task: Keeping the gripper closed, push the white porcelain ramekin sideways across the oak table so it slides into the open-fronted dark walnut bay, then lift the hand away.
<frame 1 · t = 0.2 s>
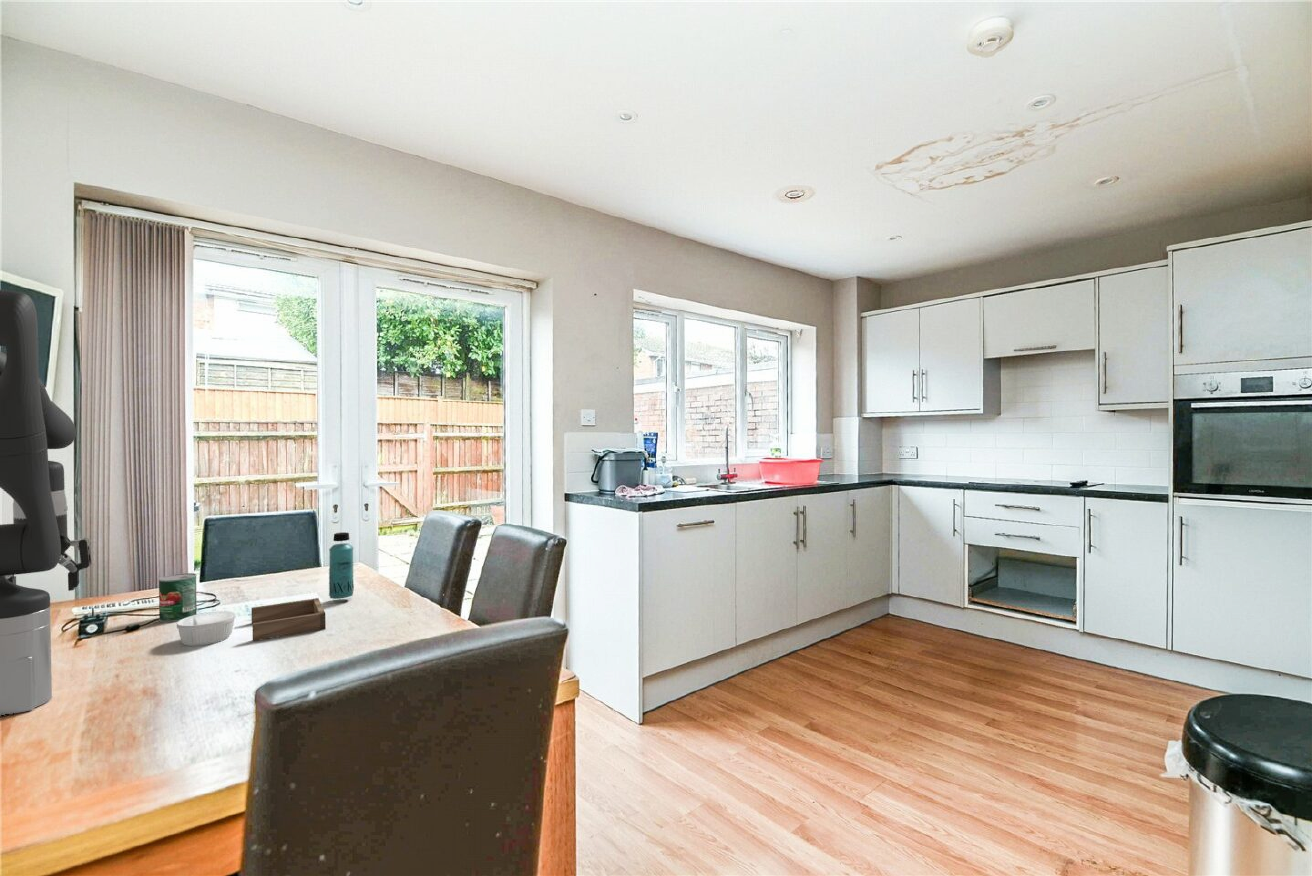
hand: (42, 592, 121), 17 cm above the table, tool pointing down, fingers open, 8 cm apart
ramekin: (206, 640, 143), on the table
walnut bay: (285, 626, 152), on the table
canned tomato: (178, 618, 160), on the table
beverage bottle: (341, 601, 175), on the table
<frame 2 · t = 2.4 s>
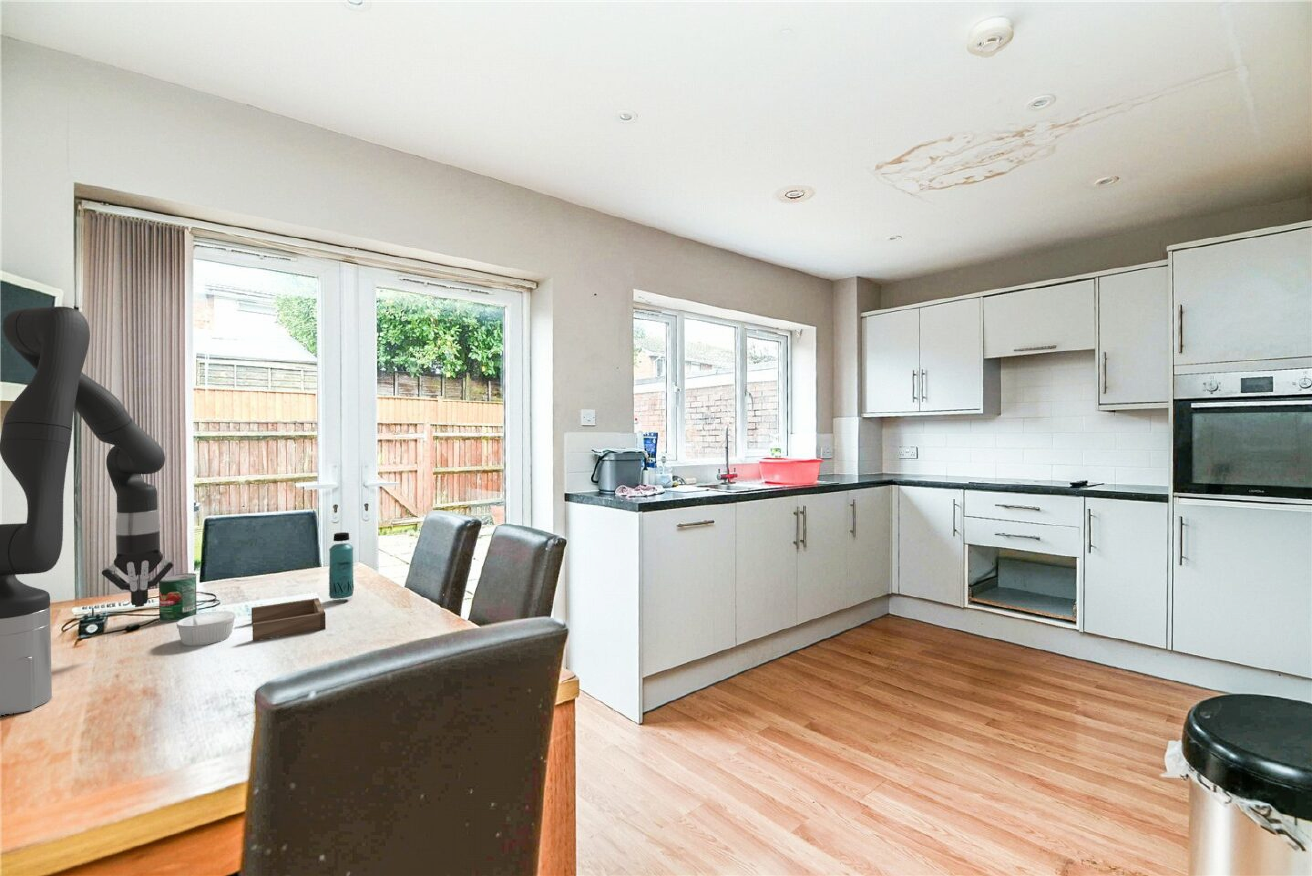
hand: (140, 605, 136), 10 cm above the table, tool pointing down, fingers closed
nothing on the table moved.
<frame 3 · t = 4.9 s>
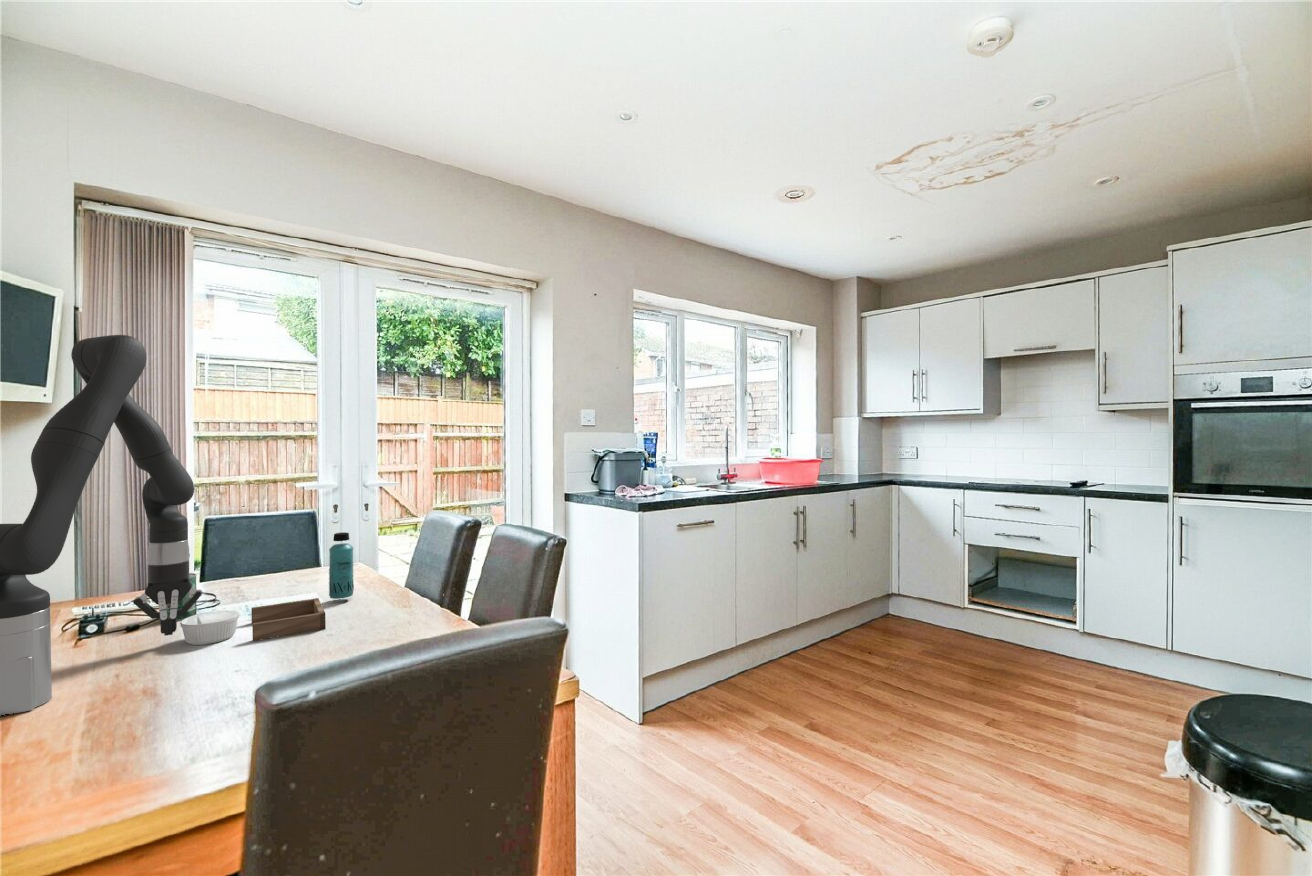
hand: (168, 634, 139), 3 cm above the table, tool pointing down, fingers closed
ramekin: (210, 639, 144), on the table, touching gripper
everything else where it was.
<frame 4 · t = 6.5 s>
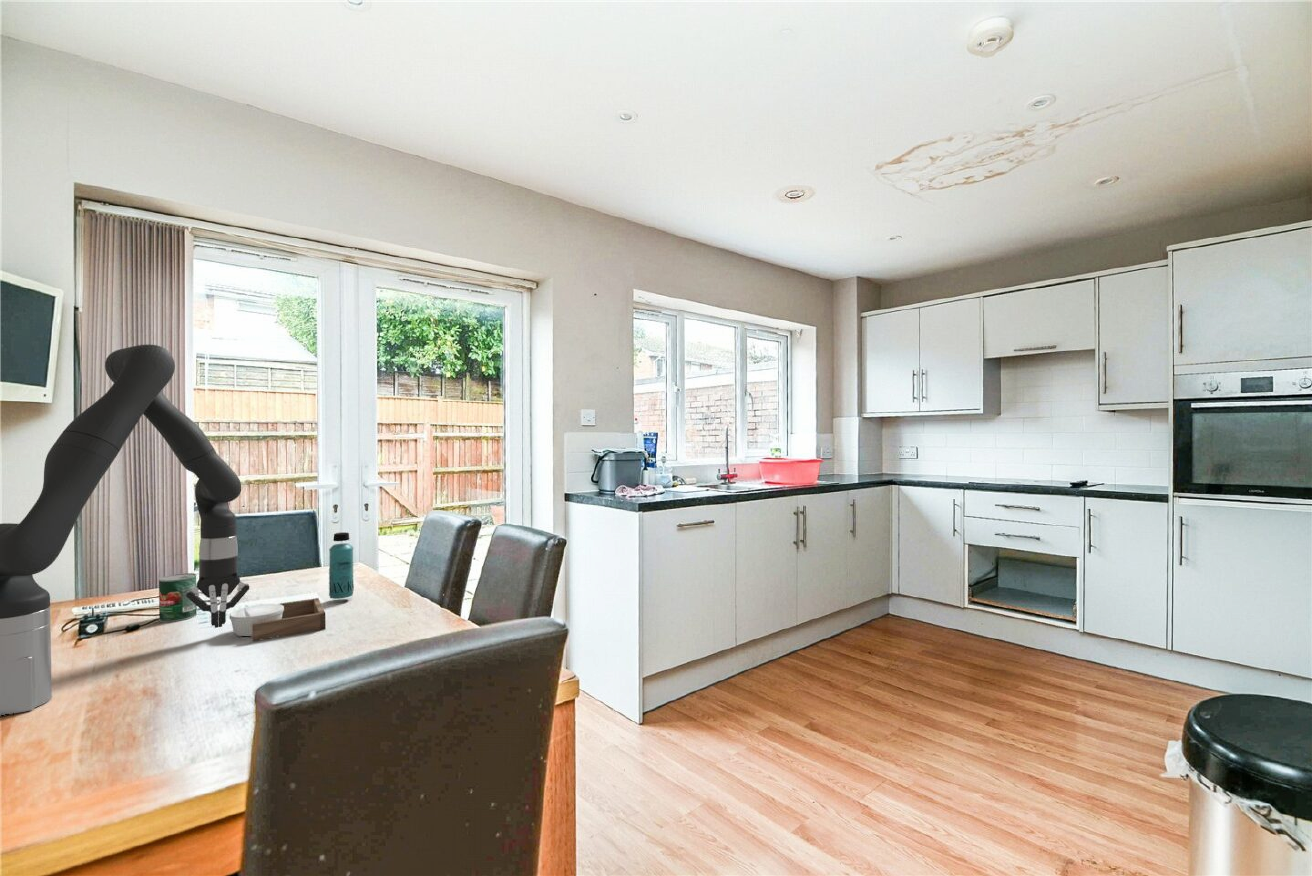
hand: (218, 626, 145), 3 cm above the table, tool pointing down, fingers closed
ramekin: (257, 631, 149), on the table, touching gripper
everything else where it was.
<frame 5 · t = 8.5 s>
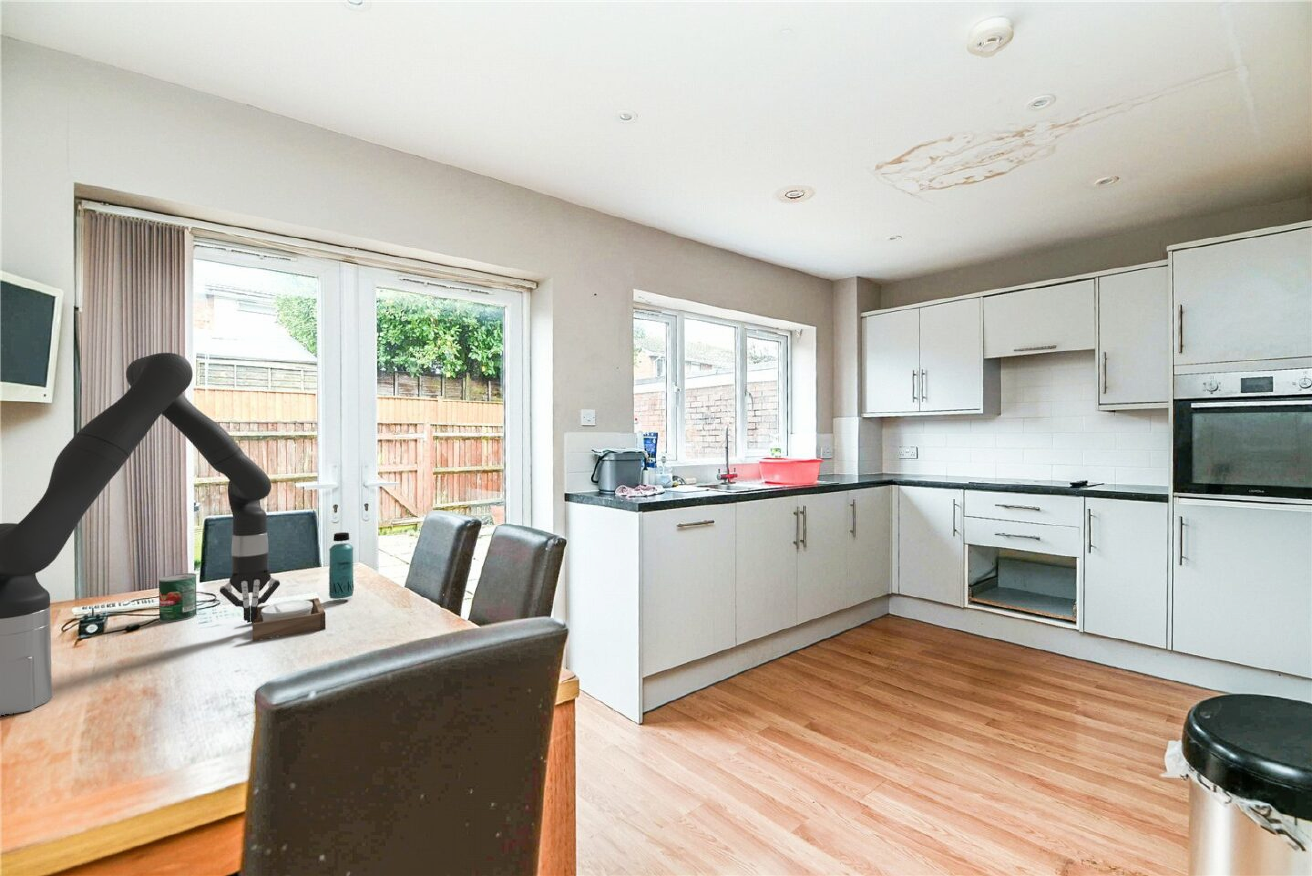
hand: (250, 621, 148), 3 cm above the table, tool pointing down, fingers closed
ramekin: (287, 627, 152), on the table
everything else where it was.
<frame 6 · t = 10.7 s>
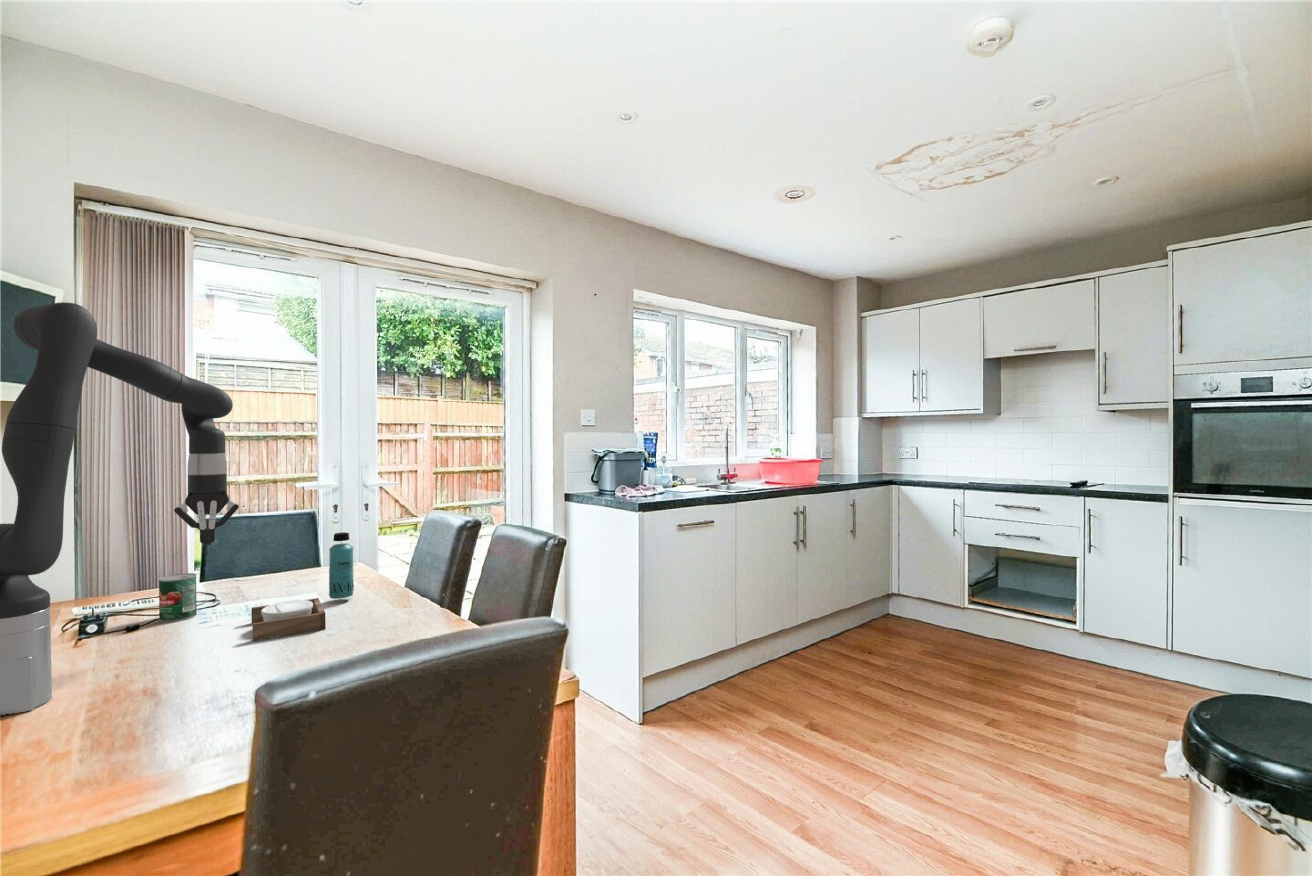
hand: (207, 544, 143), 23 cm above the table, tool pointing down, fingers closed
nothing on the table moved.
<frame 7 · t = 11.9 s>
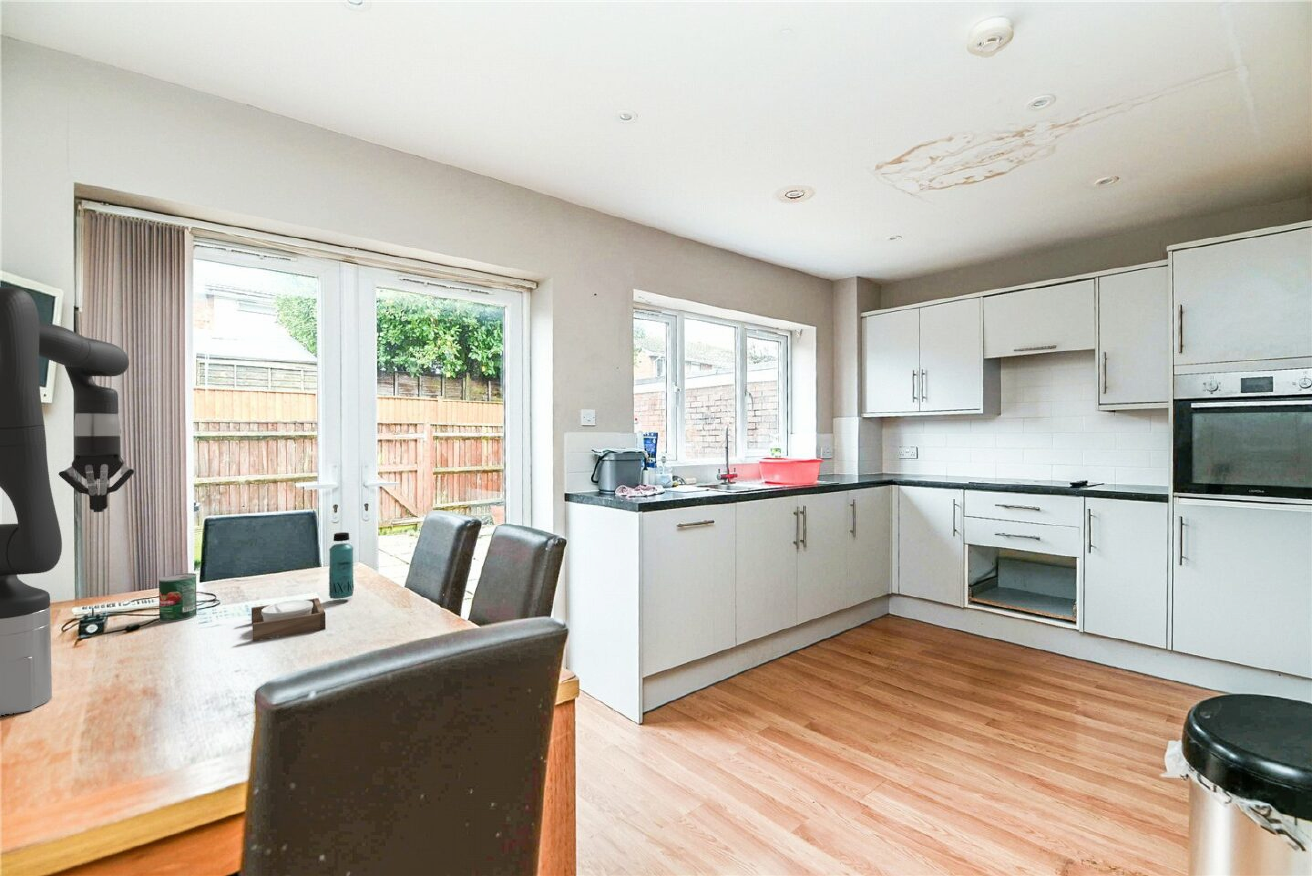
hand: (99, 511, 133), 32 cm above the table, tool pointing down, fingers closed
nothing on the table moved.
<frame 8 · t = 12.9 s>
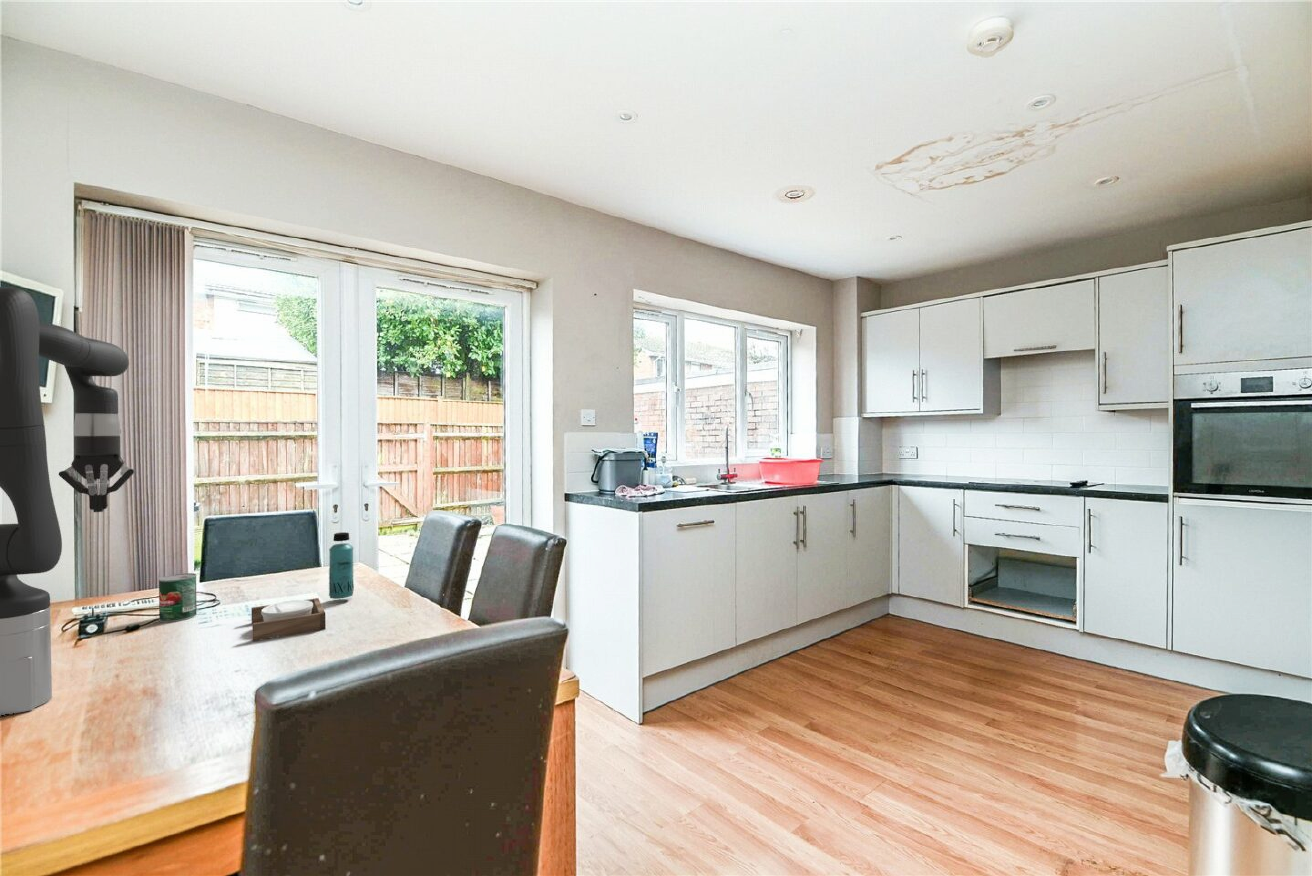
hand: (98, 511, 133), 32 cm above the table, tool pointing down, fingers closed
nothing on the table moved.
at the end: ramekin inside the target area (0.3 cm from its centre), on the table; ramekin tilted 0° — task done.
